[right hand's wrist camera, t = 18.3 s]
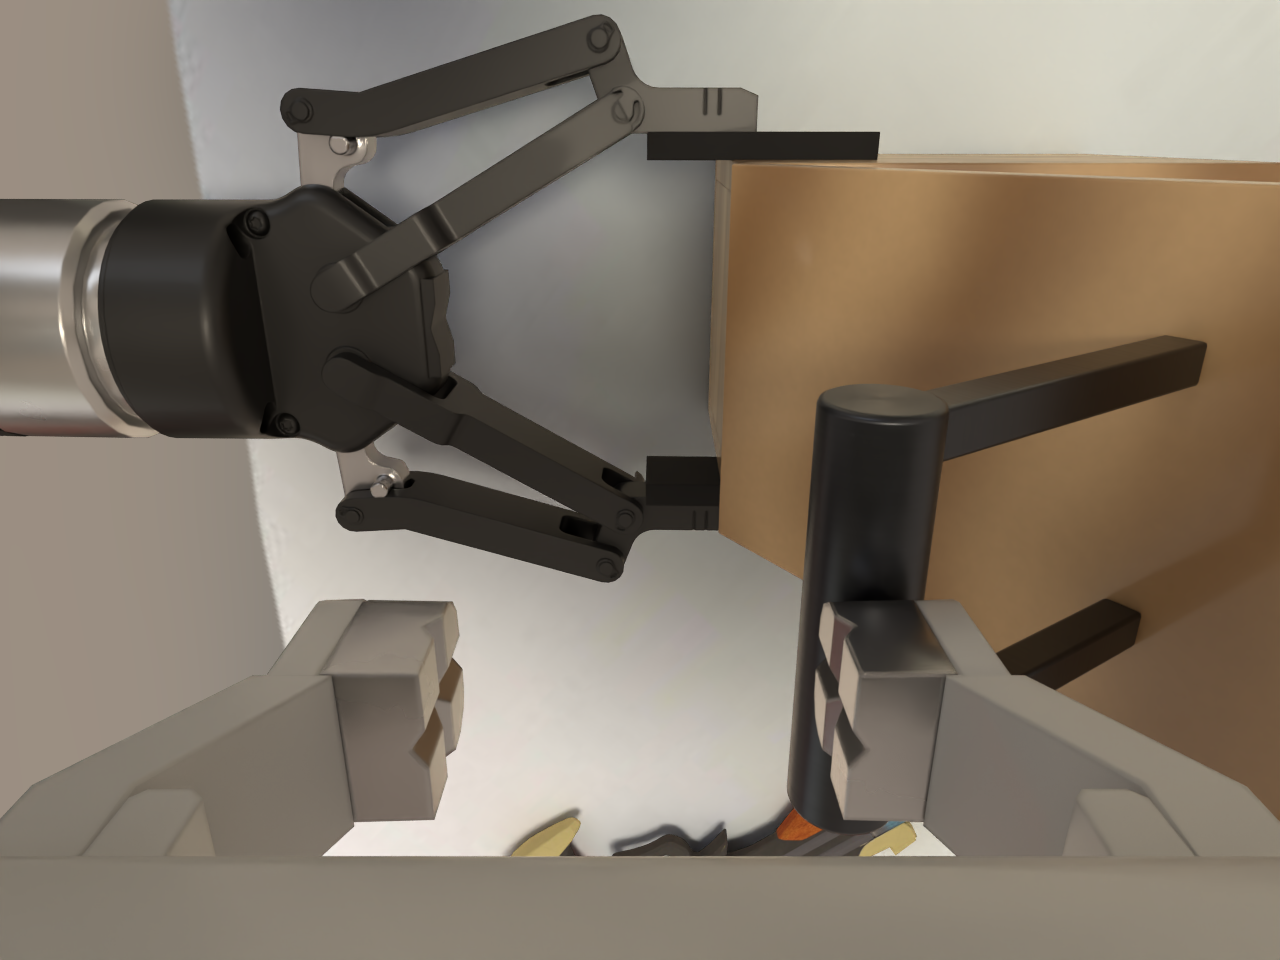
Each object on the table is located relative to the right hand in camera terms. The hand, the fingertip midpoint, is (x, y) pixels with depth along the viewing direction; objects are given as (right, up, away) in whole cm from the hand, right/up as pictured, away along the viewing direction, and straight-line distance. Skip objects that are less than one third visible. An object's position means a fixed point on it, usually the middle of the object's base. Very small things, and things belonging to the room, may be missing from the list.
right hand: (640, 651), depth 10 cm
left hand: (+7, +7, +17) cm, 20 cm away
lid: (+7, +3, +8) cm, 11 cm away
